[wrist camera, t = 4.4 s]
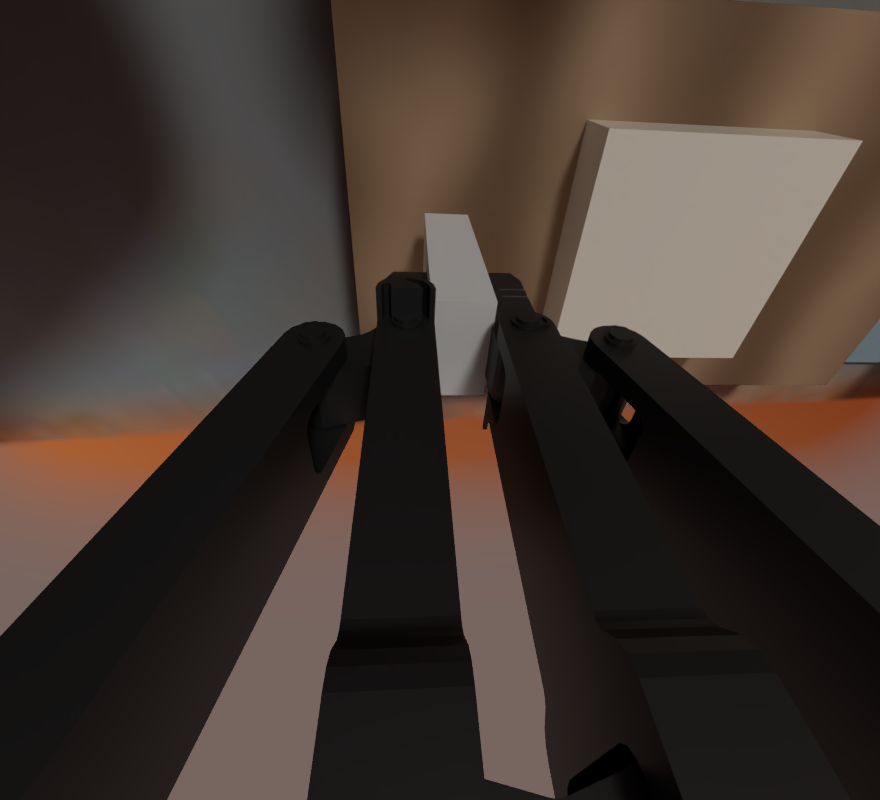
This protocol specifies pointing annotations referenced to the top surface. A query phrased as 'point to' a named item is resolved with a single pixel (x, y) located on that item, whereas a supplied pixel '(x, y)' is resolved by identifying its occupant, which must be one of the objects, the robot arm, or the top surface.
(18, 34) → the top surface
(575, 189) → the tile
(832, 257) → the panel
